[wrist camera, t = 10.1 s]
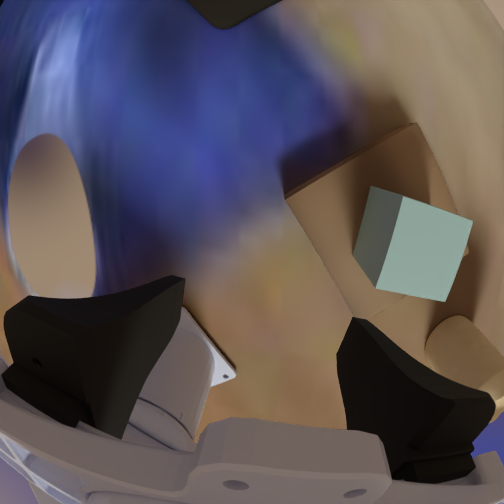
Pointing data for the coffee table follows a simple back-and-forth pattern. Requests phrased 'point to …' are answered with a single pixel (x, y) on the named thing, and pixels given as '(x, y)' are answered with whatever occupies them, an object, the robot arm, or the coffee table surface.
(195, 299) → the coffee table surface
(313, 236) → the walnut base
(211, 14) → the phone
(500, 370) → the candle
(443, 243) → the painted block
